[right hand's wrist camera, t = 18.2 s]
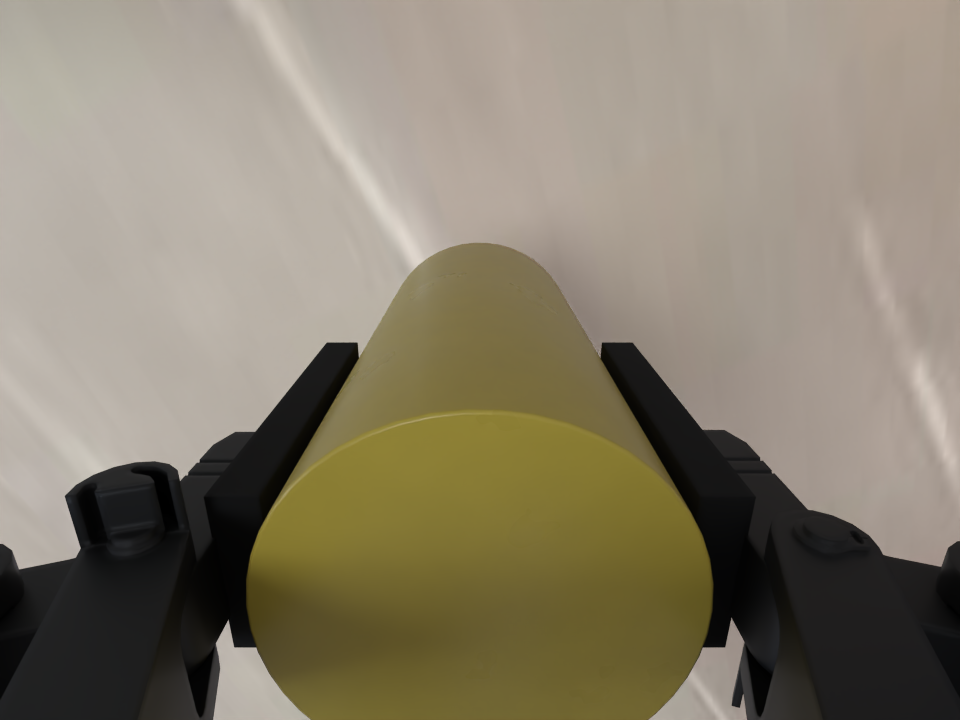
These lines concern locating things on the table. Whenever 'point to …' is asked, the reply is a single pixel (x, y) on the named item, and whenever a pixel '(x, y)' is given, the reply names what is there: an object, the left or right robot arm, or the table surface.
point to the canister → (479, 522)
